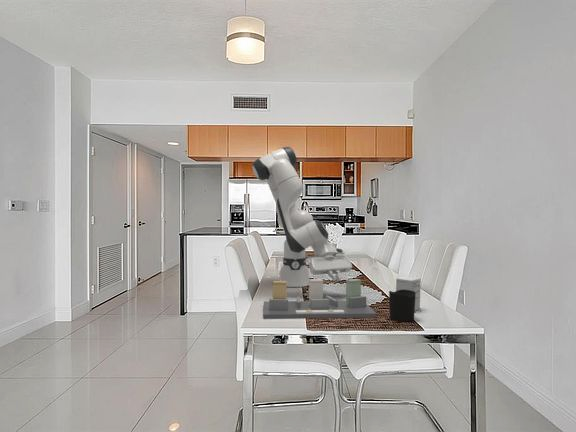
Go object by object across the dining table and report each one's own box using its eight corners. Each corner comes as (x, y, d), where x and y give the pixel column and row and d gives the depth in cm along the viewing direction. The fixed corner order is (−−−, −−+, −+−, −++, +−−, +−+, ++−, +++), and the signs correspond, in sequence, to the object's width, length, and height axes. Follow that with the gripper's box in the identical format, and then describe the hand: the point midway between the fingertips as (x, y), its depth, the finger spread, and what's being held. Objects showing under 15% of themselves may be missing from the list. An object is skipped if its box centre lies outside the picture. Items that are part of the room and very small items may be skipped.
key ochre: (273, 305, 172) (273, 280, 171) (286, 306, 171) (287, 281, 171) (272, 307, 168) (272, 282, 168) (285, 308, 168) (286, 282, 167)
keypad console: (263, 305, 181) (263, 291, 180) (363, 304, 183) (363, 291, 183) (263, 318, 160) (263, 303, 159) (376, 317, 162) (376, 302, 162)
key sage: (345, 304, 175) (345, 279, 174) (356, 303, 177) (356, 278, 176) (350, 306, 172) (350, 281, 171) (361, 304, 174) (361, 280, 174)
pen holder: (415, 323, 155) (415, 295, 154) (388, 321, 157) (388, 293, 157) (415, 316, 164) (415, 290, 164) (389, 314, 166) (389, 288, 166)
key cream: (308, 303, 175) (308, 279, 175) (321, 303, 176) (321, 279, 176) (310, 305, 172) (310, 280, 172) (323, 305, 173) (323, 280, 172)
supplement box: (395, 309, 175) (395, 278, 174) (403, 306, 180) (404, 275, 180) (412, 312, 170) (412, 280, 169) (420, 309, 175) (421, 277, 175)
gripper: (307, 251, 190) (319, 277, 182) (346, 249, 200) (359, 274, 191) (302, 260, 195) (313, 286, 186) (341, 258, 204) (353, 282, 196)
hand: (337, 280), depth 189 cm, fingers closed
